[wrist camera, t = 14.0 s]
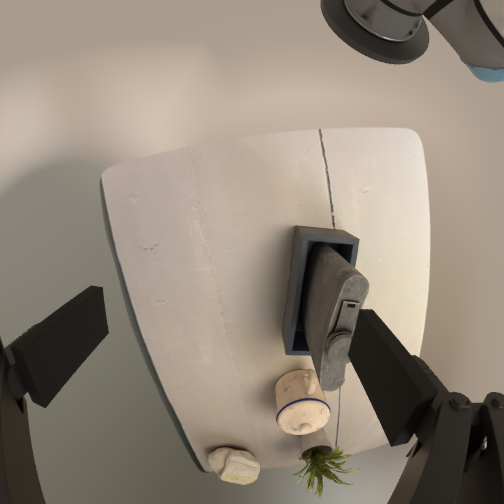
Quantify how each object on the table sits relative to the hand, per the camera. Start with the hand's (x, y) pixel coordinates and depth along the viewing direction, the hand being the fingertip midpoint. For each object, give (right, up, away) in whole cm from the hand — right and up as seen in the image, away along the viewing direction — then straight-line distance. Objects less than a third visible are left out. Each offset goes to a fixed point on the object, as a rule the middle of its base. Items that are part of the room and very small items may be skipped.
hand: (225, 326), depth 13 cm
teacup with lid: (+10, -20, +35) cm, 41 cm away
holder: (+11, -1, +30) cm, 32 cm away
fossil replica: (-3, -45, +41) cm, 60 cm away
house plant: (+16, -38, +39) cm, 57 cm away
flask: (+11, -2, +29) cm, 31 cm away
